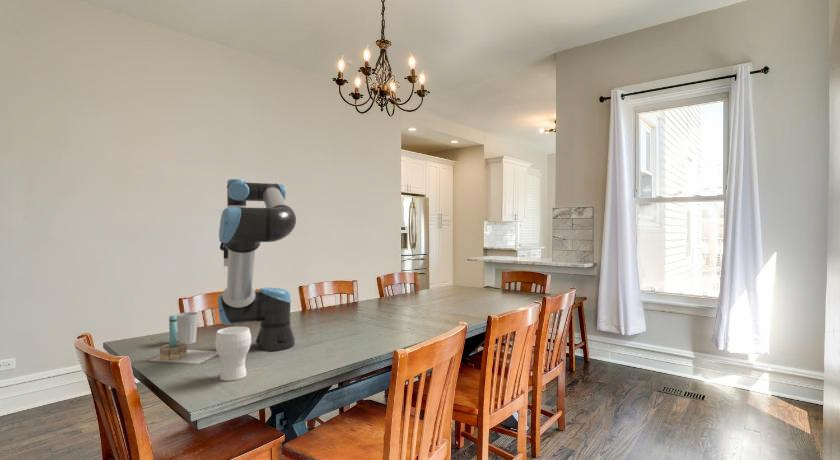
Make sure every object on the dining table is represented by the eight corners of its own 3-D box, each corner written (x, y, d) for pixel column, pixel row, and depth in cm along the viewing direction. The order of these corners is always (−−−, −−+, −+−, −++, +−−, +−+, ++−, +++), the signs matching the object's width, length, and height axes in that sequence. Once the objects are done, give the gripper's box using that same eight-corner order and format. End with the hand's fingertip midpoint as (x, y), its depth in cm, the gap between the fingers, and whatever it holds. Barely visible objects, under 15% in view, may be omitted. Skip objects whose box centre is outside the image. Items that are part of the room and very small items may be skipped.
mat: (223, 352, 162) (223, 351, 162) (198, 364, 148) (198, 363, 148) (176, 350, 165) (176, 349, 165) (148, 361, 151) (148, 360, 151)
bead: (191, 354, 159) (191, 343, 159) (175, 361, 151) (175, 349, 151) (171, 353, 160) (171, 342, 160) (154, 359, 152) (154, 348, 152)
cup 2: (222, 371, 141) (222, 326, 141) (255, 370, 142) (255, 325, 142) (209, 383, 131) (209, 334, 131) (245, 382, 132) (245, 333, 131)
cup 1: (188, 346, 171) (188, 316, 171) (171, 345, 172) (171, 315, 172) (202, 341, 179) (202, 312, 179) (186, 339, 180) (186, 311, 180)
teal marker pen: (178, 356, 156) (178, 315, 156) (173, 358, 154) (173, 317, 154) (172, 355, 157) (172, 315, 157) (167, 357, 154) (167, 316, 154)
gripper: (245, 216, 195) (245, 262, 196) (210, 214, 171) (210, 267, 171) (260, 216, 194) (260, 262, 194) (227, 214, 170) (227, 267, 170)
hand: (236, 264), depth 183 cm, fingers open, 13 cm apart
